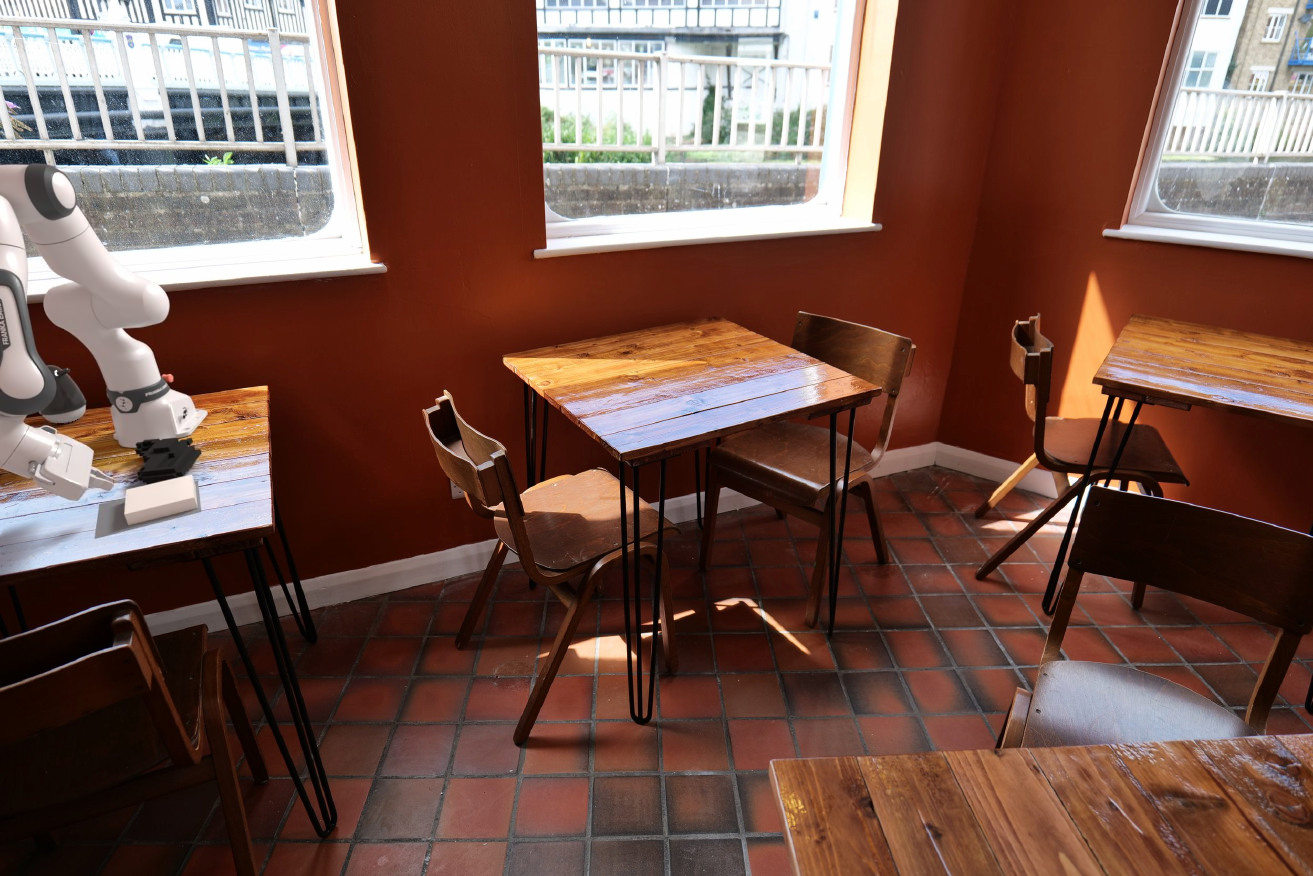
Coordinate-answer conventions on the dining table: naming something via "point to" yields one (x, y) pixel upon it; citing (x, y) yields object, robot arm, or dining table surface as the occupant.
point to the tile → (160, 499)
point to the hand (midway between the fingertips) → (112, 485)
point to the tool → (165, 459)
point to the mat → (115, 521)
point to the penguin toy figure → (64, 399)
